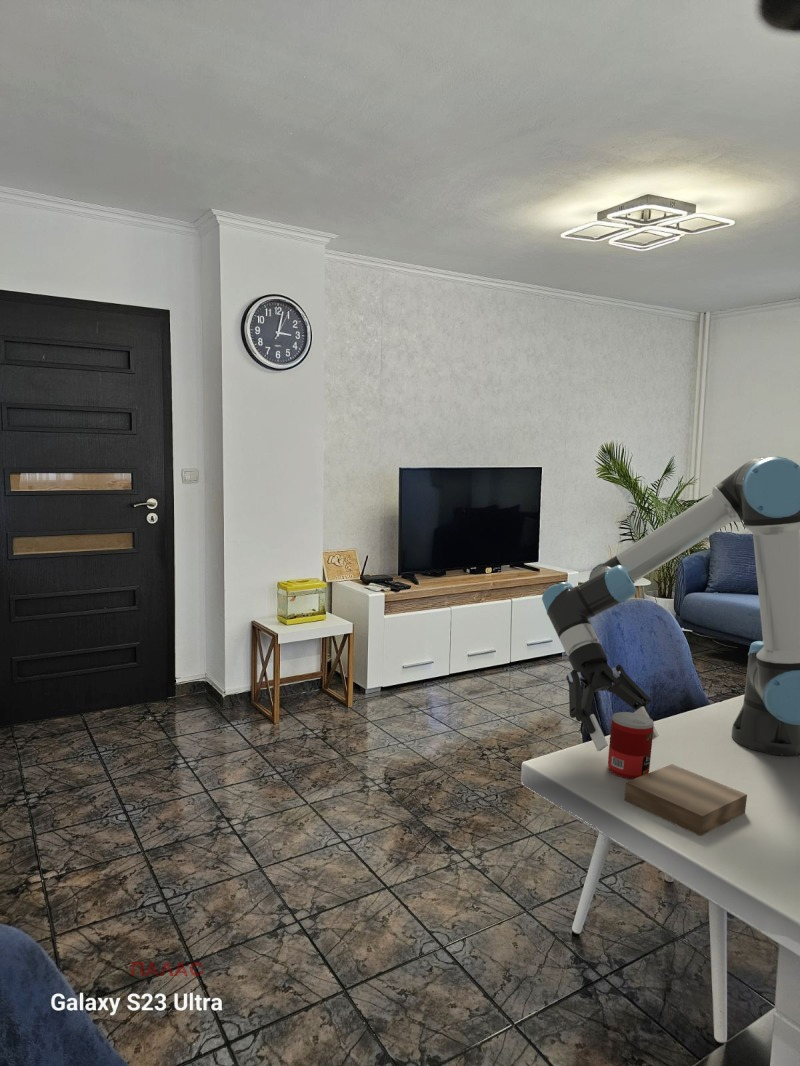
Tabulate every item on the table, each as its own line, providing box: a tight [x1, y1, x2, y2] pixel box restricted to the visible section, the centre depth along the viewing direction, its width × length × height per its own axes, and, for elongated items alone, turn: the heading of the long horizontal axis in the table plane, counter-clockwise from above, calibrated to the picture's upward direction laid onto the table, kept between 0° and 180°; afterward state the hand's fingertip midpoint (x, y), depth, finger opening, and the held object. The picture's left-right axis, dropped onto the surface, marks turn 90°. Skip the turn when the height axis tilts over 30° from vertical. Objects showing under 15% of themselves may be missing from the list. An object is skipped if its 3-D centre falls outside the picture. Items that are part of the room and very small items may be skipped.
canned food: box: [607, 711, 655, 780], centre depth 150 cm, size 8×8×11 cm
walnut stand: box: [623, 764, 748, 837], centre depth 136 cm, size 15×15×4 cm
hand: (628, 743), depth 149 cm, fingers open, 13 cm apart
